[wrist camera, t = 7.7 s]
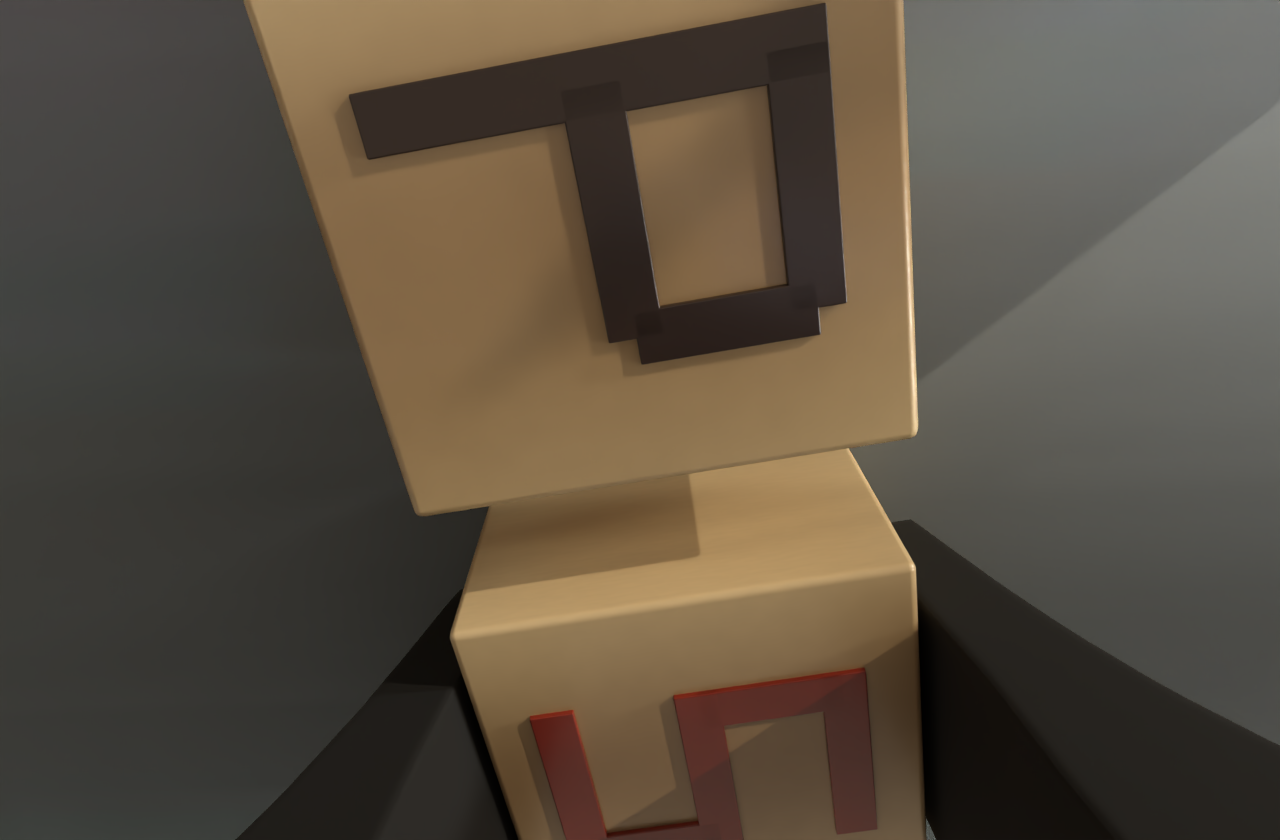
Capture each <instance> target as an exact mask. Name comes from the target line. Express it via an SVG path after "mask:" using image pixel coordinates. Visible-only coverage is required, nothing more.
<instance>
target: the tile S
mask: <svg viewBox="0 0 1280 840" xmlns="http://www.w3.org/2000/svg"><path fill="white" fill-rule="evenodd" d="M450 640H451V643H452V646H453V649H454V652H455V655H456V658H457V661H458V664H459V667H460V670H461V673H462V676H463V678H464V681H465V684H466V687H467V690H468V693H469V696H470V699H471V702H472V705H473V708H474V711H475V714H476V717H477V720H478V723H479V725H480V728H481V731H482V734H483V737H484V740H485V743H486V746H487V749H488V752H489V755H490V758H491V761H492V764H493V767H494V770H495V772H496V775H497V778H498V781H499V784H500V787H501V790H502V793H503V796H504V799H505V802H506V805H507V808H508V811H509V814H510V817H511V819H512V822H513V825H514V828H515V831H516V834H517V837H518V840H926V814H925V788H924V762H923V736H922V710H921V684H920V659H919V633H918V607H917V581H916V566H915V564H914V562H913V561H912V559H911V557H910V555H909V554H908V552H907V550H906V548H905V547H904V545H903V543H902V541H901V540H900V538H899V536H898V534H897V533H896V531H895V529H894V527H893V526H892V524H891V522H890V520H889V519H888V517H887V515H886V513H885V512H884V510H883V508H882V506H881V504H880V503H879V501H878V499H877V497H876V496H875V494H874V492H873V490H872V489H871V487H870V485H869V483H868V482H867V480H866V478H865V476H864V475H863V473H862V471H861V469H860V468H859V466H858V464H857V462H856V461H855V459H854V457H853V455H852V454H851V452H850V450H849V448H847V449H841V450H835V451H829V452H823V453H816V454H810V455H804V456H798V457H791V458H785V459H779V460H773V461H767V462H760V463H754V464H748V465H742V466H735V467H729V468H723V469H717V470H710V471H704V472H698V473H692V474H686V475H679V476H673V477H667V478H661V479H654V480H648V481H642V482H636V483H629V484H623V485H617V486H611V487H605V488H598V489H592V490H586V491H580V492H573V493H567V494H561V495H555V496H548V497H542V498H536V499H530V500H524V501H517V502H511V503H505V504H499V505H492V506H489V508H488V511H487V514H486V518H485V521H484V524H483V528H482V531H481V534H480V537H479V541H478V544H477V547H476V550H475V554H474V557H473V560H472V563H471V567H470V570H469V573H468V576H467V580H466V583H465V586H464V589H463V593H462V596H461V599H460V603H459V606H458V609H457V612H456V616H455V619H454V622H453V625H452V629H451V632H450Z"/></svg>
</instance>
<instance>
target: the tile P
mask: <svg viewBox="0 0 1280 840" xmlns="http://www.w3.org/2000/svg"><path fill="white" fill-rule="evenodd" d="M243 2H244V5H245V8H246V11H247V14H248V17H249V19H250V22H251V25H252V28H253V31H254V34H255V37H256V40H257V43H258V46H259V49H260V52H261V55H262V58H263V61H264V64H265V67H266V70H267V73H268V76H269V79H270V82H271V85H272V88H273V91H274V94H275V97H276V100H277V103H278V106H279V109H280V112H281V115H282V118H283V121H284V124H285V127H286V130H287V133H288V136H289V139H290V142H291V145H292V148H293V151H294V154H295V157H296V160H297V163H298V166H299V169H300V172H301V175H302V178H303V181H304V184H305V187H306V190H307V192H308V195H309V198H310V201H311V204H312V207H313V210H314V213H315V216H316V219H317V222H318V225H319V228H320V231H321V234H322V237H323V240H324V243H325V246H326V249H327V252H328V255H329V258H330V261H331V264H332V267H333V270H334V273H335V276H336V279H337V282H338V285H339V288H340V291H341V294H342V297H343V300H344V303H345V306H346V309H347V312H348V315H349V318H350V321H351V324H352V327H353V330H354V333H355V336H356V339H357V342H358V345H359V348H360V351H361V354H362V357H363V360H364V363H365V366H366V368H367V371H368V374H369V377H370V380H371V383H372V386H373V389H374V392H375V395H376V398H377V401H378V404H379V407H380V410H381V413H382V416H383V419H384V422H385V425H386V428H387V431H388V434H389V437H390V440H391V443H392V446H393V449H394V452H395V455H396V458H397V461H398V464H399V467H400V470H401V473H402V476H403V479H404V482H405V485H406V488H407V491H408V494H409V497H410V500H411V503H412V506H413V509H414V511H415V513H416V514H417V515H418V516H430V515H436V514H443V513H449V512H455V511H461V510H467V509H474V508H480V507H486V506H492V505H499V504H505V503H511V502H517V501H524V500H530V499H536V498H542V497H548V496H555V495H561V494H567V493H573V492H580V491H586V490H592V489H598V488H605V487H611V486H617V485H623V484H629V483H636V482H642V481H648V480H654V479H661V478H667V477H673V476H679V475H686V474H692V473H698V472H704V471H710V470H717V469H723V468H729V467H735V466H742V465H748V464H754V463H760V462H767V461H773V460H779V459H785V458H791V457H798V456H804V455H810V454H816V453H823V452H829V451H835V450H841V449H847V448H854V447H860V446H866V445H872V444H879V443H885V442H891V441H897V440H904V439H910V438H912V437H914V436H916V433H917V430H918V405H917V377H916V348H915V319H914V291H913V262H912V234H911V205H910V176H909V148H908V119H907V91H906V62H905V33H904V5H903V0H243Z"/></svg>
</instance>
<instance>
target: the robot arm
mask: <svg viewBox="0 0 1280 840" xmlns="http://www.w3.org/2000/svg"><path fill="white" fill-rule="evenodd" d="M891 524H892V526H893V527H894V529H895V531H896V533H897V534H898V536H899V538H900V540H901V541H902V543H903V545H904V547H905V548H906V550H907V552H908V554H909V555H910V557H911V559H912V561H913V562H914V564H915V566H916V581H917V607H918V633H919V659H920V684H921V710H922V736H923V762H924V788H925V814H926V818H927V820H928V822H929V824H930V827H931V829H932V831H933V833H934V835H935V838H936V840H1280V746H1279V745H1277V744H1275V743H1273V742H1271V741H1269V740H1267V739H1265V738H1263V737H1261V736H1259V735H1257V734H1255V733H1253V732H1251V731H1249V730H1247V729H1245V728H1244V727H1242V726H1240V725H1238V724H1236V723H1234V722H1232V721H1230V720H1228V719H1226V718H1224V717H1222V716H1220V715H1218V714H1216V713H1214V712H1212V711H1210V710H1208V709H1206V708H1204V707H1202V706H1200V705H1199V704H1197V703H1195V702H1193V701H1191V700H1189V699H1187V698H1185V697H1183V696H1181V695H1180V694H1178V693H1176V692H1174V691H1172V690H1170V689H1169V688H1167V687H1165V686H1163V685H1161V684H1159V683H1158V682H1156V681H1154V680H1152V679H1151V678H1149V677H1147V676H1145V675H1144V674H1142V673H1140V672H1139V671H1137V670H1135V669H1133V668H1132V667H1130V666H1128V665H1127V664H1125V663H1123V662H1122V661H1120V660H1118V659H1117V658H1115V657H1113V656H1112V655H1110V654H1108V653H1107V652H1105V651H1103V650H1101V649H1100V648H1098V647H1096V646H1095V645H1093V644H1091V643H1090V642H1088V641H1086V640H1085V639H1083V638H1082V637H1080V636H1078V635H1077V634H1075V633H1074V632H1072V631H1071V630H1069V629H1067V628H1066V627H1064V626H1063V625H1061V624H1059V623H1058V622H1056V621H1055V620H1053V619H1052V618H1050V617H1049V616H1047V615H1046V614H1044V613H1043V612H1041V611H1040V610H1038V609H1037V608H1035V607H1034V606H1032V605H1031V604H1029V603H1028V602H1026V601H1025V600H1023V599H1022V598H1020V597H1019V596H1017V595H1016V594H1014V593H1013V592H1011V591H1010V590H1008V589H1007V588H1006V587H1004V586H1003V585H1001V584H1000V583H998V582H997V581H995V580H994V579H993V578H991V577H990V576H988V575H987V574H986V573H984V572H983V571H981V570H980V569H979V568H977V567H976V566H974V565H973V564H972V563H970V562H969V561H968V560H966V559H965V558H963V557H962V556H961V555H959V554H958V553H957V552H955V551H954V550H952V549H951V548H950V547H948V546H947V545H946V544H944V543H943V542H941V541H940V540H939V539H937V538H936V537H935V536H933V535H932V534H930V533H929V532H928V531H926V530H925V529H924V528H922V527H921V526H919V525H918V524H917V523H915V522H914V521H912V520H905V521H898V522H892V523H891ZM462 593H463V589H461V590H460V591H459V592H458V593H457V594H456V595H455V596H454V597H453V599H452V600H451V601H450V602H449V603H448V604H447V606H446V607H445V608H444V609H443V610H442V612H441V613H440V614H439V615H438V616H437V618H436V619H435V620H434V621H433V623H432V624H431V625H430V626H429V627H428V629H427V630H426V631H425V632H424V634H423V635H422V636H421V637H420V639H419V640H418V641H417V642H416V643H415V645H414V646H413V647H412V648H411V650H410V651H409V652H408V653H407V654H406V656H405V657H404V658H403V659H402V660H401V662H400V663H399V664H398V665H397V666H396V668H395V669H394V670H393V671H392V672H391V674H390V675H389V676H388V677H387V678H386V679H385V681H384V682H383V683H382V684H381V685H380V687H379V688H378V689H377V690H376V691H375V693H374V694H373V695H372V696H371V697H370V698H369V700H368V701H367V702H366V703H365V704H364V706H363V707H362V708H361V709H360V710H359V711H358V712H357V714H356V715H355V716H354V717H353V718H352V719H351V720H350V721H349V722H348V723H347V725H346V726H345V727H344V728H343V729H342V730H341V731H340V732H339V733H338V734H337V735H336V736H335V738H334V739H333V740H332V741H331V742H330V743H329V744H328V745H327V746H326V747H325V748H324V750H323V751H322V752H321V753H320V754H319V755H318V756H317V757H316V758H315V759H314V760H313V761H312V763H311V764H310V765H309V766H308V767H307V768H306V769H305V770H304V771H303V772H302V773H301V774H300V776H299V777H298V778H297V779H296V780H295V781H294V782H293V783H292V784H291V785H290V786H289V787H288V788H287V789H286V790H285V791H284V793H283V794H282V795H281V796H280V797H279V798H278V799H277V800H276V801H275V802H274V803H273V804H272V805H271V806H270V807H269V808H268V809H267V810H266V811H265V812H264V813H263V814H262V815H260V816H259V817H258V818H257V819H256V820H255V821H254V822H253V823H252V824H251V825H250V826H249V827H248V828H247V829H246V830H245V831H244V832H243V833H242V834H241V835H240V836H239V837H238V838H237V839H236V840H518V837H517V834H516V831H515V828H514V825H513V822H512V819H511V817H510V814H509V811H508V808H507V805H506V802H505V799H504V796H503V793H502V790H501V787H500V784H499V781H498V778H497V775H496V772H495V770H494V767H493V764H492V761H491V758H490V755H489V752H488V749H487V746H486V743H485V740H484V737H483V734H482V731H481V728H480V725H479V723H478V720H477V717H476V714H475V711H474V708H473V705H472V702H471V699H470V696H469V693H468V690H467V687H466V684H465V681H464V678H463V676H462V673H461V670H460V667H459V664H458V661H457V658H456V655H455V652H454V649H453V646H452V643H451V640H450V632H451V629H452V625H453V622H454V619H455V616H456V612H457V609H458V606H459V603H460V599H461V596H462Z"/></svg>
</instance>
